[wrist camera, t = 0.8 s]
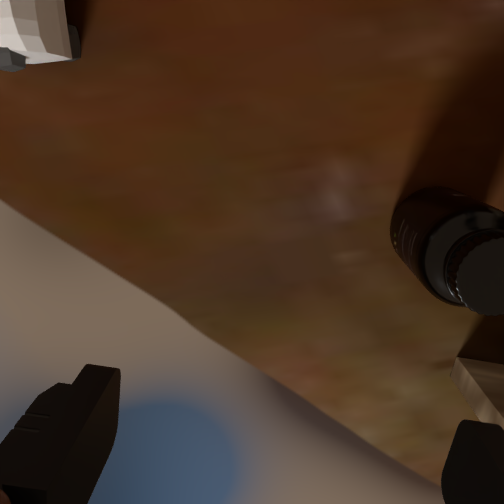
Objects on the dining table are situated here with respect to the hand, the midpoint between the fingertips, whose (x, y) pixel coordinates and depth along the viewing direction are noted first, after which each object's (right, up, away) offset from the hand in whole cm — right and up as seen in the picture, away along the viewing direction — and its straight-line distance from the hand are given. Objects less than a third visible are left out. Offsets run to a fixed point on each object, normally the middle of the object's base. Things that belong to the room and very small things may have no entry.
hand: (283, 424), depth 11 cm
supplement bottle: (+14, +6, +27) cm, 31 cm away
